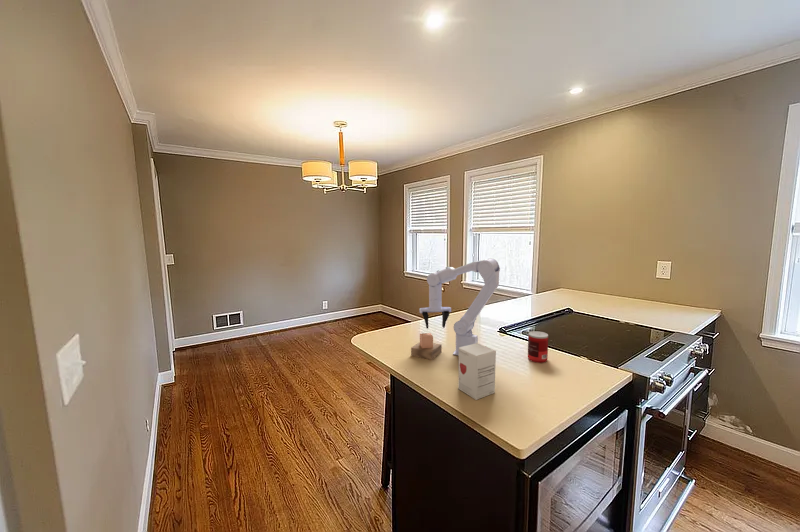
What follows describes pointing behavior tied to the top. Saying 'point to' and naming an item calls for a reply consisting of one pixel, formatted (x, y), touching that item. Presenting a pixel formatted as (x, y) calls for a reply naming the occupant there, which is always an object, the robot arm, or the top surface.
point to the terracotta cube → (426, 340)
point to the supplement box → (477, 370)
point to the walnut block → (426, 351)
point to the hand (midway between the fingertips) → (435, 327)
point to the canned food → (537, 346)
